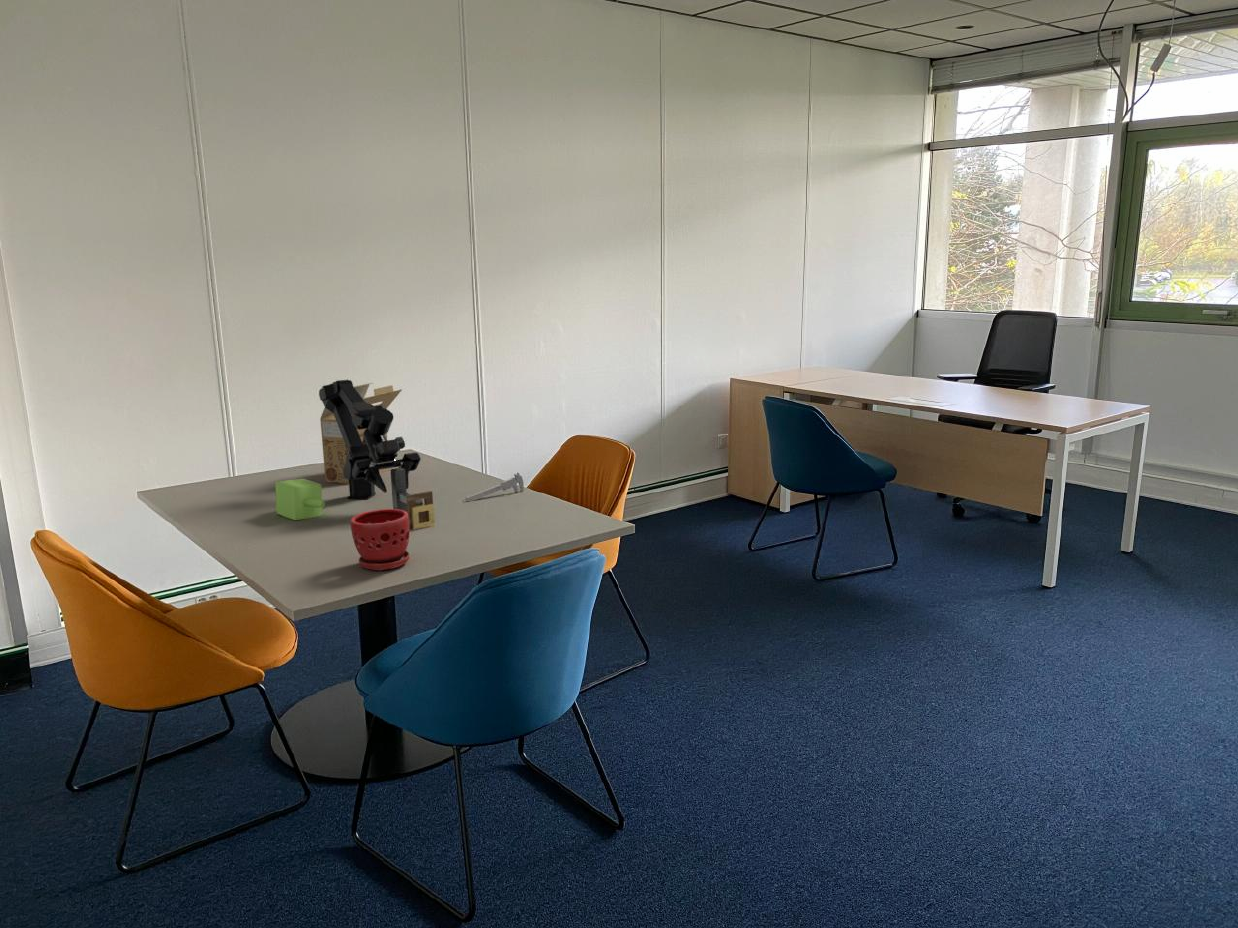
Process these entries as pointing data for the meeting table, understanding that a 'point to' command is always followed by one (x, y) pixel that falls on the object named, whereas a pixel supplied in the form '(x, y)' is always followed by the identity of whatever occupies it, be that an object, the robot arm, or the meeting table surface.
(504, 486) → the caliper
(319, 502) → the gearbox
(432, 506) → the frame
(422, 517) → the plate
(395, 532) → the plant pot
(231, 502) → the meeting table surface
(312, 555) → the meeting table surface
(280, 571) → the meeting table surface
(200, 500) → the meeting table surface
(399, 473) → the steel shaft
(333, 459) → the box
